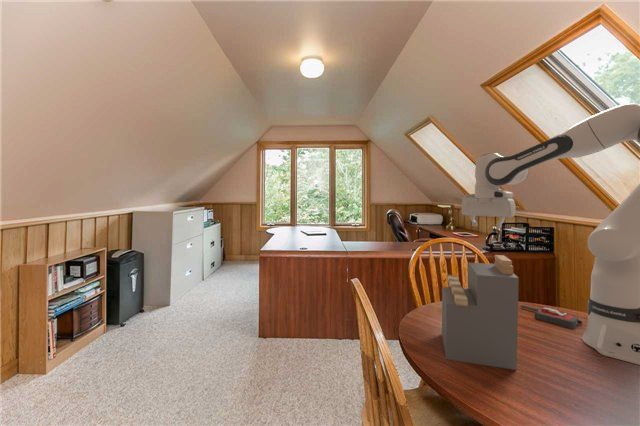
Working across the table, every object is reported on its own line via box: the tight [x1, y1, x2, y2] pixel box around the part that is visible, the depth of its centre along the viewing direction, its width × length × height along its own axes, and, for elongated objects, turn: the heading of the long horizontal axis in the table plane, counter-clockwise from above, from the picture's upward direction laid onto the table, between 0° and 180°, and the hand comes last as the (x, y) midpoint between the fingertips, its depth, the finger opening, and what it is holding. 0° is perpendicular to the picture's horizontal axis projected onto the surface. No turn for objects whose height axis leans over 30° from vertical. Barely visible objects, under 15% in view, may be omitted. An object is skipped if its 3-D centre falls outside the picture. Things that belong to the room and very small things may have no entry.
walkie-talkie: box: [520, 304, 583, 330], centre depth 113 cm, size 9×4×20 cm
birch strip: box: [447, 274, 468, 306], centre depth 95 cm, size 26×3×2 cm, turn 161°
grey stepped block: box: [441, 254, 520, 371], centre depth 89 cm, size 16×18×30 cm
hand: (486, 227), depth 119 cm, fingers open, 8 cm apart
